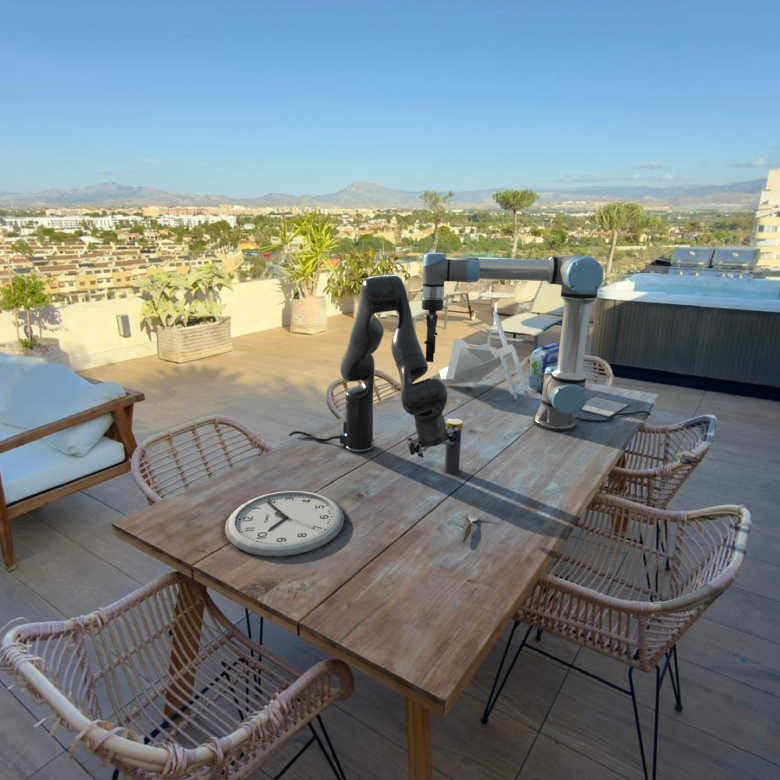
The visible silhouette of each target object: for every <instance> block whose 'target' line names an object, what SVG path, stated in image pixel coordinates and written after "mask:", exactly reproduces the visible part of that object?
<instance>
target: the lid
mask: <svg viewBox="0 0 780 780" xmlns="http://www.w3.org/2000/svg"><path fill="white" fill-rule="evenodd" d="M445 423H446V429H449V430H450V429H451V428H452V426H453V425H456V426H457V429H458V430H461V431H462V430H463V428H464V420H462V419H459V418H448V419H446V420H445Z"/></svg>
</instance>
